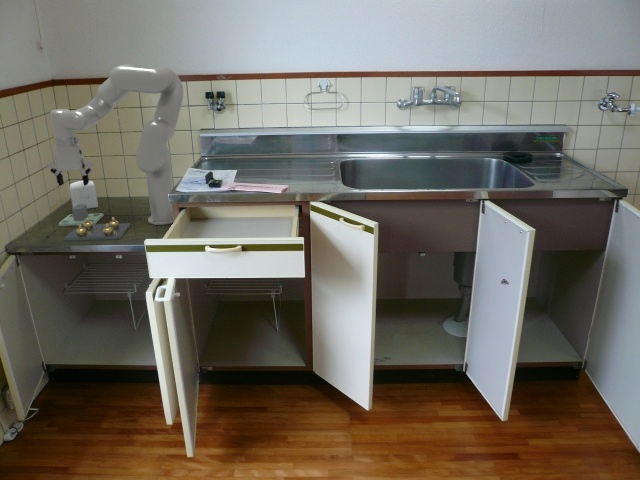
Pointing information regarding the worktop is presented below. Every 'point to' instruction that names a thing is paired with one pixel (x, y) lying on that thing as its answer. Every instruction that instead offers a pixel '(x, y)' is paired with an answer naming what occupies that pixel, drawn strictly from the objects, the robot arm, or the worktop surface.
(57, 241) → the worktop surface
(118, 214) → the worktop surface
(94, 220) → the board
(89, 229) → the plate
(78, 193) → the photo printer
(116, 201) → the worktop surface
